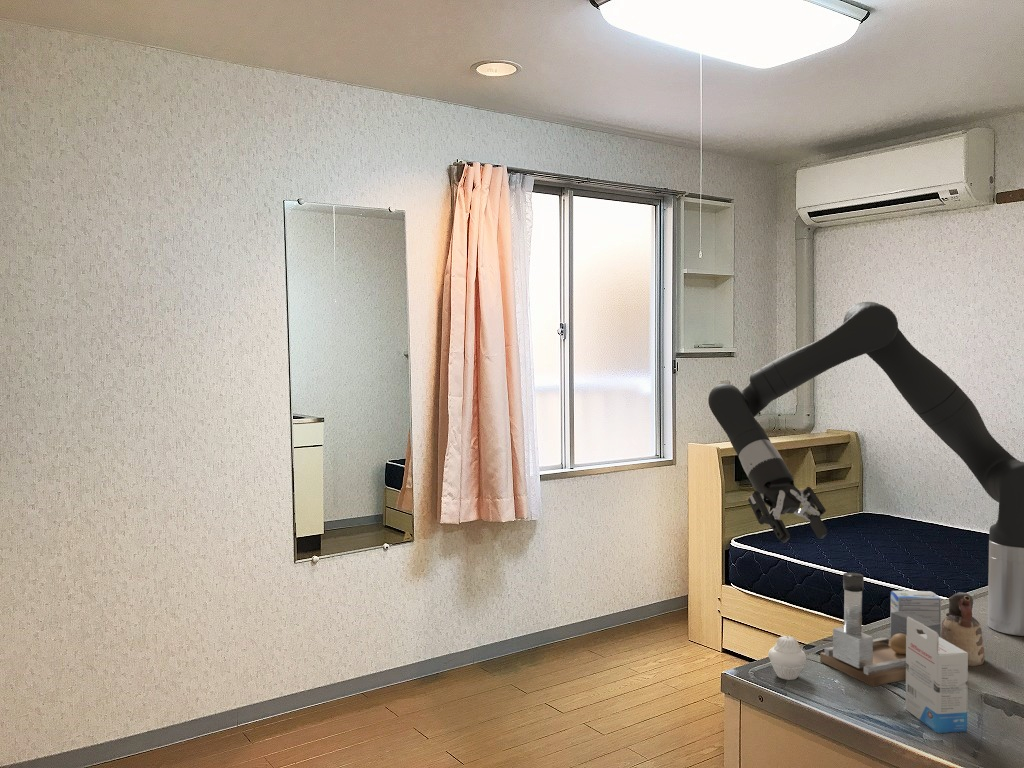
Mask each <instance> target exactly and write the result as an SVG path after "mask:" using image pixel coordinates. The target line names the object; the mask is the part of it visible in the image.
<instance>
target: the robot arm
mask: <svg viewBox="0 0 1024 768" xmlns="http://www.w3.org/2000/svg"><path fill="white" fill-rule="evenodd" d="M863 355H867V356H868V357H869V358H870V359H871V360H872V361H874V363H876V364H877V366H879V367H880V368H881V370H883V372H884V373H885V374H886V376H888V378H889V380H890V382H892V384H893V385H894V387H895V388H896V389H897V391H898V392H899V393H900V394H901V396H902V397H903V399H904V400H905V401H906V402H907V404H908V405H909V406H910V407H911V408H912V410H913V412H915V414H917V416H918V417H919V418H920V419H921V420H922V421H923V422H924V423H925V424H926V425H927V426H928V428H929V429H930V430H932V431H933V433H934V434H935V435H937V436H938V437H939V438H940V439H941V440H942V442H944V443H945V444H946V445H947V447H948V448H950V449H951V451H953V452H954V453H955V454H956V455H958V457H959V458H960V459H961V460H962V462H963V463H964V464H965V465H966V466H967V468H968V469H969V470H970V471H971V473H972V474H973V475H974V477H975V478H976V480H977V481H978V482H979V484H980V485H981V486H982V488H983V489H984V491H985V492H986V493H987V495H988V496H989V497H990V498H991V499H992V500H993V501H996V502H997V503H998V512H997V513H998V515H997V516H998V517H997V520H996V522H995V523H994V524H992V525H990V527H989V531H988V533H989V535H988V576H987V577H988V580H987V581H988V582H987V583H988V584H987V585H988V586H987V587H988V589H987V590H988V591H987V598H988V599H987V626H988V627H989V628H990V629H993V631H996V632H999V633H1003V634H1007V635H1013V636H1019V637H1020V636H1021V637H1024V462H1023V461H1020V460H1019V459H1017V458H1016V457H1014V456H1013V455H1012V454H1011V453H1010V452H1008V451H1007V450H1006V449H1005V448H1004V447H1003V446H1002V445H1001V444H1000V443H999V442H998V441H997V440H996V439H995V438H994V436H993V435H992V434H991V433H990V431H989V430H988V429H987V426H986V424H985V422H984V420H983V417H982V416H981V414H980V412H979V410H978V408H977V407H976V405H975V404H974V402H973V401H972V399H971V398H970V397H969V396H968V394H966V393H965V392H964V390H962V388H961V387H960V386H959V385H958V384H957V382H955V381H954V380H953V379H952V378H951V377H950V376H949V375H948V374H947V373H946V372H945V371H944V370H942V369H941V368H940V367H939V366H938V365H936V364H935V363H934V362H933V361H931V360H930V359H929V358H928V357H926V356H925V355H924V354H922V353H921V352H920V351H919V350H917V348H916V347H915V346H914V345H913V344H912V343H911V342H910V341H909V340H908V339H907V337H906V336H905V335H904V334H903V332H902V331H901V330H900V328H899V322H898V318H897V316H896V314H895V313H894V311H892V310H891V309H890V308H889V307H887V306H886V305H883V304H881V303H877V302H873V301H862V302H858V303H856V304H854V305H853V306H852V305H851V307H850V308H849V309H848V310H847V311H846V313H845V315H844V317H843V323H842V324H840V325H839V326H838V327H837V328H835V329H834V330H833V331H830V333H829V332H828V334H826V335H825V336H823V337H821V338H819V339H818V340H816V341H813V342H812V343H809V344H807V345H805V346H802V347H800V348H797V349H795V350H793V351H790V352H788V353H786V354H783V355H782V356H780V357H778V358H775V359H774V360H772V361H771V362H769V363H767V364H766V365H764V366H762V367H761V368H758V369H757V370H756V371H754V372H753V373H751V374H750V376H749V384H748V385H747V386H746V387H744V388H743V389H742V390H741V391H740V389H739V388H738V387H736V386H735V385H733V384H729V383H720V384H717V385H715V386H714V387H713V388H712V389H711V390H710V391H709V394H708V399H707V400H708V407H709V409H710V411H711V413H712V415H713V416H714V418H715V419H716V420H717V422H718V424H719V425H720V426H721V428H722V430H723V431H724V432H725V434H726V436H727V437H728V440H729V442H730V444H731V446H732V448H733V449H734V451H735V453H736V455H737V457H738V459H739V461H740V464H741V466H742V467H741V468H743V471H744V472H745V474H746V477H747V478H748V480H749V481H750V484H751V485H752V488H753V489H754V491H753V492H752V494H751V495H750V496H749V497H748V498H747V501H748V502H749V503H748V504H750V505H749V506H750V508H751V509H752V511H753V514H754V516H755V518H756V521H757V522H758V524H760V525H764V524H765V525H768V526H769V527H771V529H772V531H773V533H775V534H774V535H775V536H776V538H777V539H778V540H779V541H780V543H783V544H784V543H788V541H789V540H790V539H791V534H790V533H789V531H788V529H787V527H786V525H785V524H784V522H783V520H782V519H780V517H781V515H785V514H794V515H796V516H797V517H802V518H803V519H804V520H807V522H809V526H810V527H811V529H812V531H813V532H814V534H815V535H816V537H817V539H819V540H820V539H822V540H823V539H824V538H825V537H826V536H827V535H828V528H827V527H826V525H825V523H824V522H823V520H822V519H821V517H822V516H823V514H824V513H826V508H825V507H824V505H823V503H822V502H821V501H820V499H819V498H818V496H817V495H816V493H815V492H814V490H813V489H812V487H810V486H806V487H805V488H804V489H801V490H800V489H798V488H797V487H796V485H795V482H794V476H793V475H792V472H791V470H790V469H789V468H788V466H787V464H786V462H785V460H784V459H783V457H782V455H781V454H780V452H779V451H778V449H777V447H775V446H774V444H773V443H772V441H771V439H770V438H769V436H768V435H767V433H766V431H765V429H764V427H763V426H761V424H760V423H759V422H758V420H757V419H756V418H755V417H756V416H757V415H758V414H760V412H762V411H763V410H764V409H766V407H767V406H768V405H769V404H771V402H773V401H775V400H776V399H778V398H781V397H782V396H785V395H786V394H788V393H789V392H791V391H793V390H795V389H796V388H799V386H802V385H803V384H805V383H806V382H809V381H810V380H812V379H814V378H816V377H817V376H820V375H821V374H822V373H824V372H826V371H828V370H830V369H832V368H834V367H836V366H839V365H840V364H843V363H845V362H847V361H849V360H853V359H854V358H858V357H860V356H863ZM800 505H802V507H801V508H800ZM767 506H768V507H767ZM816 508H817V509H816Z"/></svg>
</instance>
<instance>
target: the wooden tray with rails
mask: <svg viewBox="0 0 1024 768" xmlns="http://www.w3.org/2000/svg"><path fill="white" fill-rule="evenodd" d="M906 636H907V635H905V634H902V633H898V634H895V635H893V636H892V638H891V637H890V639H889V645H888V646H883V647H877V648H873V664H877V663H882V662H887V661H892V660H897V659H902V658H906ZM819 655H820V656H819V657H820V660H819V661H820V662H821V663H823V664H825V665H827V666H829V667H831V668H834V669H836V670H837V671H840V672H842V673H844V674H847V675H848V676H851V678H852V677H853V678H854V679H856V680H859V681H861V682H863V683H865V684H866V685H869V686H870V687H877V686H881V685H886V684H891V683H896V682H900V681H906V668H901V669H897V670H892V671H887V672H882V673H877V674H872V675H866V674H864V668H860V669H859V668H857V667H854V666H852V665H850V664H848V663H846V662H844V661H842V660H839V659H837V658H835V657H833V656H830V657H828V656H826V655H825V651H824V652H820V654H819Z"/></svg>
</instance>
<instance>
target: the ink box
mask: <svg viewBox="0 0 1024 768" xmlns="http://www.w3.org/2000/svg"><path fill="white" fill-rule="evenodd" d="M917 629H918V630H923V632H924V633H925V634H918V633H917ZM968 671H969V667H968V653H967V652H965V651H963V650H962V649H960V648H958V647H956V646H955V645H953V644H951V643H949V642H948V641H946V640H944V639H942V638H941V637H939V635H938V633H937V632H935V631H934V630H932V629H930V628H928V627H927V626H925V625H923V624H922V623H920V622H918V621H916V620H914V619H912V618H911V617H907V636H906V680H905V710H906V711H908V713H910V714H911V715H913V716H914V717H915V718H917V719H918V720H919V721H920V722H921V723H923V724H924V725H925V726H927V727H928V728H929V729H931V730H932V731H934V732H935V733H938V734H942V733H943V734H944V733H945V734H946V733H958V732H959V733H960V732H967V730H968V690H969V689H968V686H969V685H968V681H969V680H968V678H969V677H968V676H969V672H968Z"/></svg>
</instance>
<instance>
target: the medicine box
mask: <svg viewBox="0 0 1024 768" xmlns="http://www.w3.org/2000/svg"><path fill="white" fill-rule="evenodd" d="M898 611H906V612H909V613H912V614H914V615H917V616H920V617H923V618H926V619H928V620H931V621H934V622H937V623H940V624H941V625H942V623H941V622H942V598H941V597H940V596H939V595H938V594H936V593H935V592H933V591H929V590H927V591H924V590H891V591H890V614H891V613H892V612H898ZM889 622H890V626H889V627H890V628H889V629H890V631H889V632H890V634H891V617H890V621H889ZM940 637H941V629H940Z"/></svg>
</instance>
